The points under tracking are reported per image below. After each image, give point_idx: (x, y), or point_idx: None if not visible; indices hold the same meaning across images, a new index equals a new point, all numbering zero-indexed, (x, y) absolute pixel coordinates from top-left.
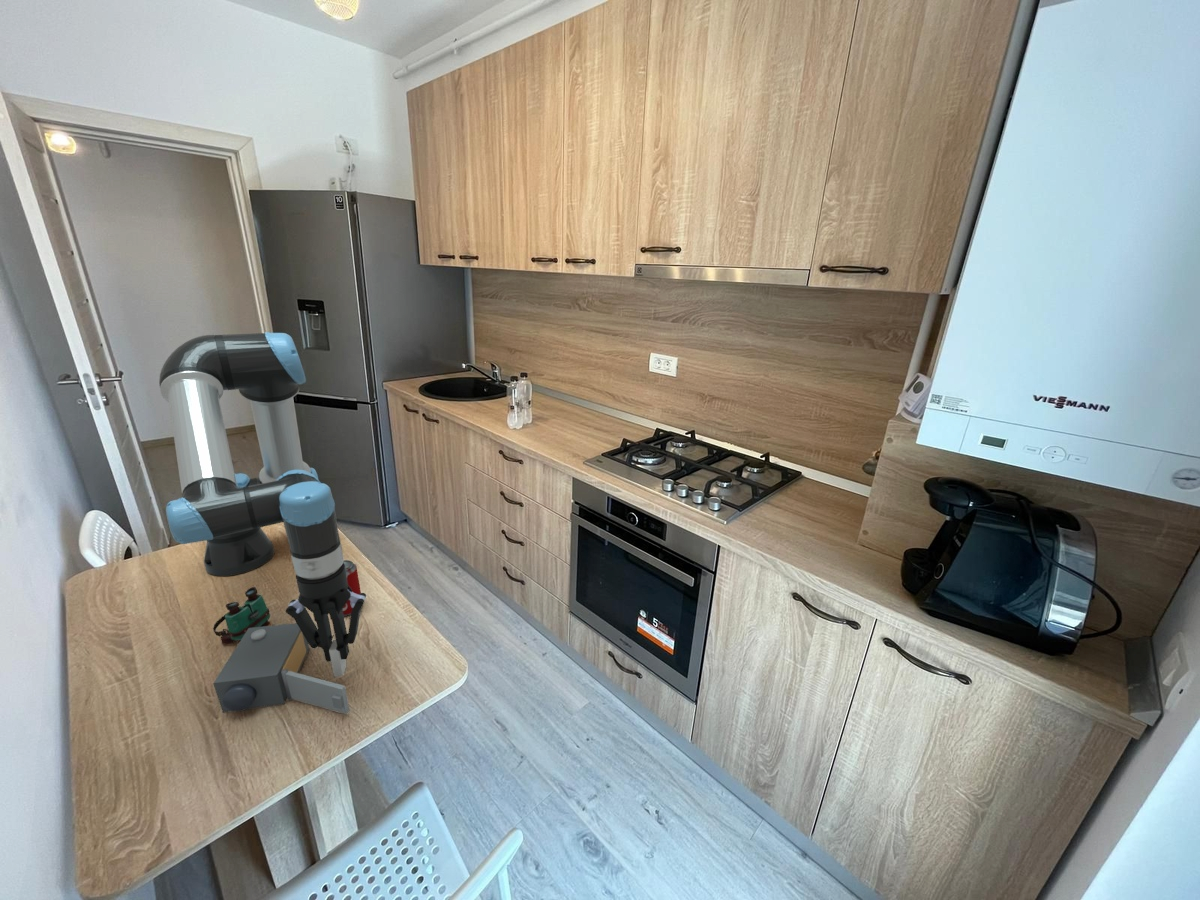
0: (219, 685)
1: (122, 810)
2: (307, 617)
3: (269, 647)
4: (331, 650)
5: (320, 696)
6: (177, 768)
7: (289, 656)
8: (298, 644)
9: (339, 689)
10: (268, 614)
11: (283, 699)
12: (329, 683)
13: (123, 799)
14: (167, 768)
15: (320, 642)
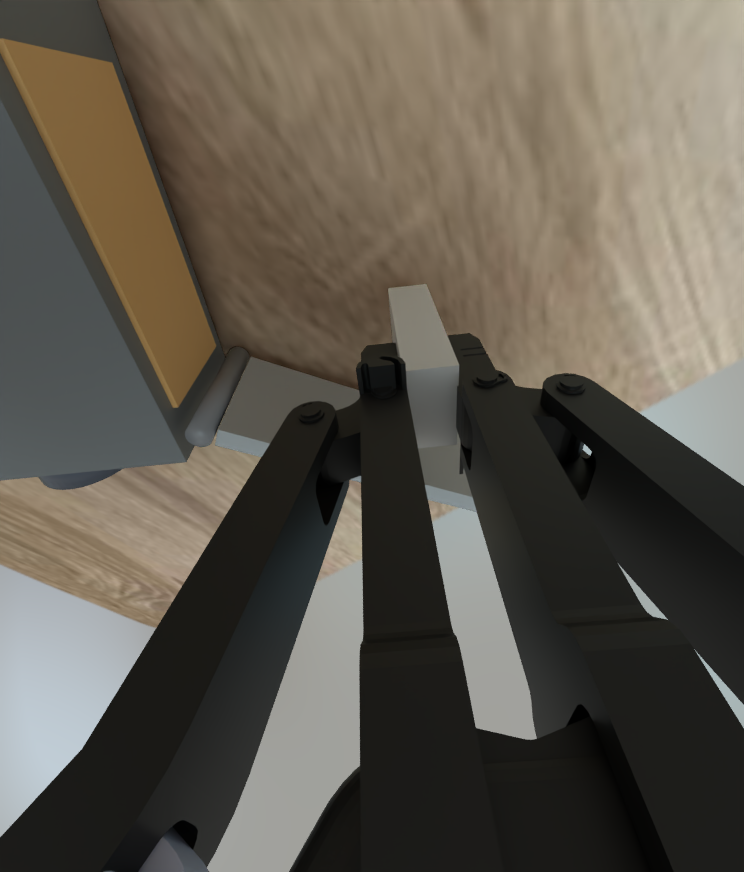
0: None
1: (91, 573)
2: (251, 669)
3: None
4: (420, 444)
5: None
6: (106, 520)
7: (135, 322)
8: (85, 168)
9: (474, 509)
10: None
11: None
12: (429, 490)
13: (67, 560)
14: (82, 519)
15: (360, 471)
